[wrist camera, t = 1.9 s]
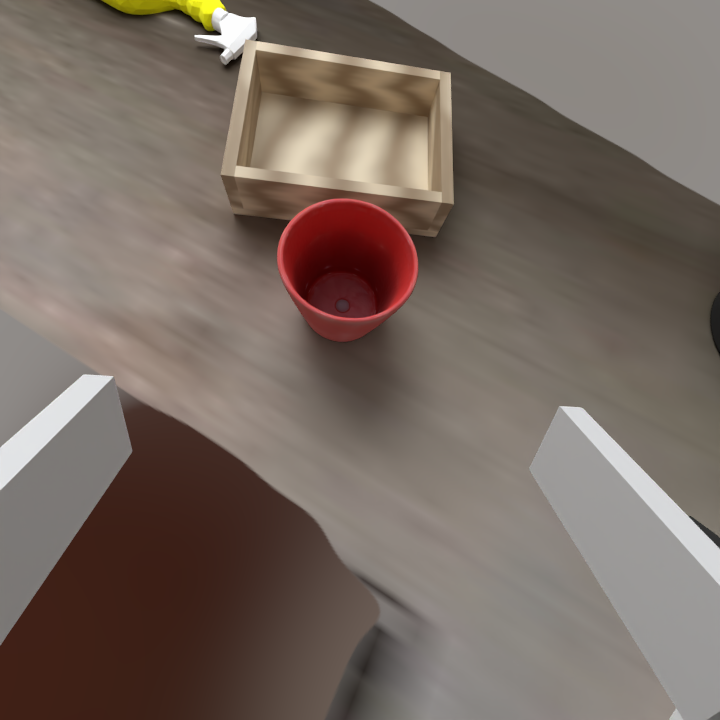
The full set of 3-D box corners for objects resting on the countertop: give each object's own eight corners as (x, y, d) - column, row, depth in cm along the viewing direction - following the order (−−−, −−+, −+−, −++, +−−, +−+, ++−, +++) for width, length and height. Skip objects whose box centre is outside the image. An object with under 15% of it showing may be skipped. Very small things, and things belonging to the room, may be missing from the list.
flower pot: (358, 378, 35) (374, 350, 26) (265, 318, 36) (247, 269, 26) (412, 297, 38) (443, 245, 29) (325, 242, 39) (328, 173, 29)
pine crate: (434, 118, 45) (450, 73, 40) (435, 237, 40) (453, 204, 35) (254, 90, 43) (245, 39, 37) (233, 213, 38) (220, 174, 33)
